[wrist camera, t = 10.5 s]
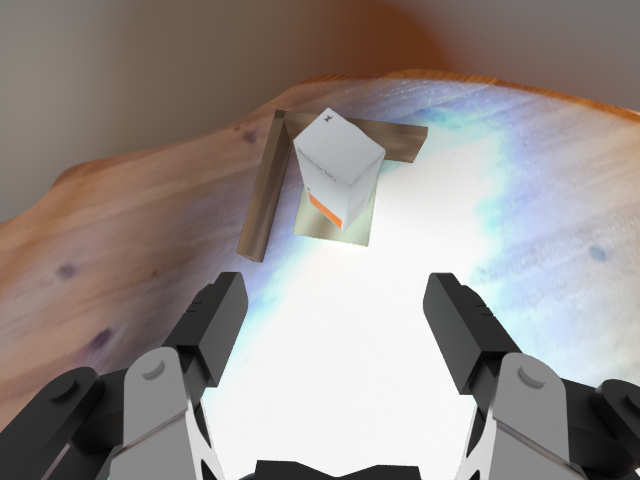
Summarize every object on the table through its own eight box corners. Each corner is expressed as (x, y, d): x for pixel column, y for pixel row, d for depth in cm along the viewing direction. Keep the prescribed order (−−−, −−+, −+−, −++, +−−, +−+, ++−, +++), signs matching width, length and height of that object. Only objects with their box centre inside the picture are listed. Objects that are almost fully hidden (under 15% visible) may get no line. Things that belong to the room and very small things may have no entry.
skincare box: (307, 202, 30) (289, 139, 18) (330, 179, 30) (328, 103, 19) (343, 234, 28) (349, 187, 17) (367, 209, 29) (388, 147, 17)
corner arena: (252, 260, 29) (235, 252, 24) (284, 138, 33) (276, 109, 28) (398, 288, 27) (412, 284, 22) (413, 154, 31) (427, 127, 26)
